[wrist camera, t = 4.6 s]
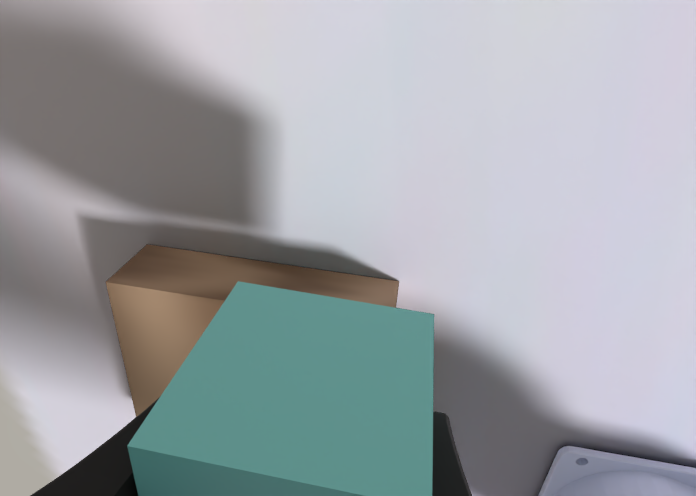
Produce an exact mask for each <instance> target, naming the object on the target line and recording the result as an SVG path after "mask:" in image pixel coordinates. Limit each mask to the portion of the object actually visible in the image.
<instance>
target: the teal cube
mask: <svg viewBox="0 0 696 496" xmlns="http://www.w3.org/2000/svg"><path fill="white" fill-rule="evenodd" d="M433 370H434V314H430V313H424V312H418V311H412V310H406V309H400V308H394V307H388V306H382V305H376V304H370V303H364V302H358V301H353V300H347V299H341V298H335V297H329V296H323V295H317V294H311V293H305V292H299V291H293V290H287V289H281V288H275V287H269V286H263V285H257V284H251V283H245V282H239V281H238V282H237V283H236V285H235V286H234V288H233V289H232V291H231V292H230V294H229V295H228V297H227V298H226V300H225V301H224V303H223V304H222V306H221V307H220V309H219V310H218V312H217V313H216V315H215V316H214V318H213V319H212V321H211V322H210V324H209V325H208V327H207V328H206V330H205V331H204V332H203V334H202V335H201V337H200V338H199V340H198V341H197V343H196V344H195V346H194V347H193V349H192V350H191V352H190V353H189V355H188V356H187V358H186V359H185V361H184V362H183V364H182V365H181V367H180V368H179V370H178V371H177V373H176V374H175V376H174V377H173V379H172V380H171V382H170V383H169V384H168V386H167V387H166V389H165V390H164V392H163V393H162V395H161V396H160V398H159V399H158V401H157V402H156V404H155V405H154V407H153V408H152V410H151V411H150V413H149V414H148V416H147V417H146V419H145V420H144V422H143V423H142V425H141V426H140V428H139V429H138V431H137V432H136V434H135V435H134V436H133V438H132V439H131V441H130V442H129V444H128V445H127V447H128V452H129V456H130V461H131V465H132V470H133V474H134V479H135V483H136V488H137V492H138V496H432V474H433Z"/></svg>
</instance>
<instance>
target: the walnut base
mask: <svg viewBox="0 0 696 496" xmlns="http://www.w3.org/2000/svg"><path fill="white" fill-rule="evenodd" d="M238 281H239V282H245V283H251V284H257V285H263V286H269V287H275V288H281V289H287V290H293V291H299V292H305V293H311V294H317V295H323V296H329V297H335V298H341V299H347V300H353V301H358V302H364V303H370V304H376V305H382V306H388V307H394V308H396V302H397V294H398V286H399V281H394V280H387V279H380V278H373V277H367V276H360V275H353V274H346V273H339V272H332V271H326V270H319V269H312V268H305V267H298V266H291V265H285V264H278V263H271V262H264V261H257V260H250V259H244V258H237V257H230V256H223V255H216V254H209V253H203V252H196V251H189V250H182V249H175V248H168V247H162V246H155V245H148V244H147V245H146V246H145V247H144V248H143V249H142V250H140V251H139V252H138V253H137V254H136V255H135V256H134V257H133V258H132V259H130V260H129V261H128V262H127V263H126V264H125V265H124V266H123V267H122V268H121V269H119V270H118V271H117V272H116V273H115V274H114V275H113V276H112V277H111V278H110V279H108V280H107V281H106V286H107V290H108V295H109V299H110V304H111V308H112V312H113V317H114V321H115V326H116V330H117V334H118V339H119V343H120V347H121V352H122V356H123V361H124V365H125V369H126V374H127V378H128V383H129V387H130V391H131V396H132V400H133V404H134V409H135V413H136V417H137V416H138V415H139V414H141V413H142V412H143V411H144V410H145V409H147V408H148V407H149V406H150V405H151V404H152V403H153V402H155V401H156V400H157V399H158V398H159V397H160V396H161V395H162V393H163V392H164V390H165V389H166V387H167V386H168V384H169V383H170V382H171V380H172V379H173V377H174V376H175V374H176V373H177V371H178V370H179V368H180V367H181V365H182V364H183V362H184V361H185V359H186V358H187V356H188V355H189V353H190V352H191V350H192V349H193V347H194V346H195V344H196V343H197V341H198V340H199V338H200V337H201V335H202V334H203V332H204V331H205V330H206V328H207V327H208V325H209V324H210V322H211V321H212V319H213V318H214V316H215V315H216V313H217V312H218V310H219V309H220V307H221V306H222V304H223V303H224V301H225V300H226V298H227V297H228V295H229V294H230V292H231V291H232V289H233V288H234V286H235V285H236V283H237V282H238Z"/></svg>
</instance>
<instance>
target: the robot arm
mask: <svg viewBox="0 0 696 496" xmlns="http://www.w3.org/2000/svg"><path fill="white" fill-rule="evenodd" d="M159 398H160V397H159ZM159 398H158V399H159ZM158 399H157V400H156V401H155V402H153V403H152V404H151V405H150V406H149V407H148V408H147V409H145V410H144V411H143V412H142V413H141V414H139V415H138V416H137V417H136V418H135V419H133V420H132V421H131V422H130V423H129V424H127V425H126V426H125V427H124V428H123V429H121V430H120V431H119V432H118V433H117V434H115V435H114V436H113V437H111V438H110V439H109V440H108V441H106V442H105V443H104V444H102V445H101V446H100V447H98V448H97V449H96V450H95V451H93V452H92V453H91V454H89V455H88V456H87V457H85V458H84V459H83V460H81V461H80V462H79V463H77V464H76V465H75V466H73V467H72V468H70V469H69V470H68V471H66V472H65V473H63V474H62V475H61V476H59V477H58V478H56V479H55V480H53V481H52V482H50V483H49V484H47V485H46V486H44V487H43V488H41V489H40V490H38V491H37V492H35V493H34V494H32V495H31V496H138V492H137V488H136V483H135V479H134V474H133V470H132V465H131V461H130V456H129V452H128V447H127V445H128V444H129V442H130V441H131V439H132V438H133V436H134V435H135V434H136V432H137V431H138V429H139V428H140V426H141V425H142V423H143V422H144V420H145V419H146V417H147V416H148V414H149V413H150V411H151V410H152V408H153V407H154V405H155V404H156V402H157V401H158ZM432 496H472V494H471V492H470V489H469V486H468V484H467V481H466V478H465V475H464V472H463V469H462V466H461V463H460V459H459V456H458V453H457V450H456V446H455V442H454V439H453V435H452V431H451V426H450V422H449V418H448V416H447V415H446V414H444V413H439V412H434V411H433V474H432ZM538 496H696V468H693V467H687V466H681V465H676V464H670V463H664V462H659V461H653V460H647V459H642V458H636V457H631V456H625V455H619V454H614V453H608V452H602V451H597V450H591V449H585V448H580V447H574V446H565V447H562V448H560V449H559V451H558V452H557V455H556V457H555V459H554V461H553V464H552V466H551V468H550V470H549V473H548V475H547V477H546V479H545V481H544V484H543V486H542V488H541V490H540V493H539V495H538Z"/></svg>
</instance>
